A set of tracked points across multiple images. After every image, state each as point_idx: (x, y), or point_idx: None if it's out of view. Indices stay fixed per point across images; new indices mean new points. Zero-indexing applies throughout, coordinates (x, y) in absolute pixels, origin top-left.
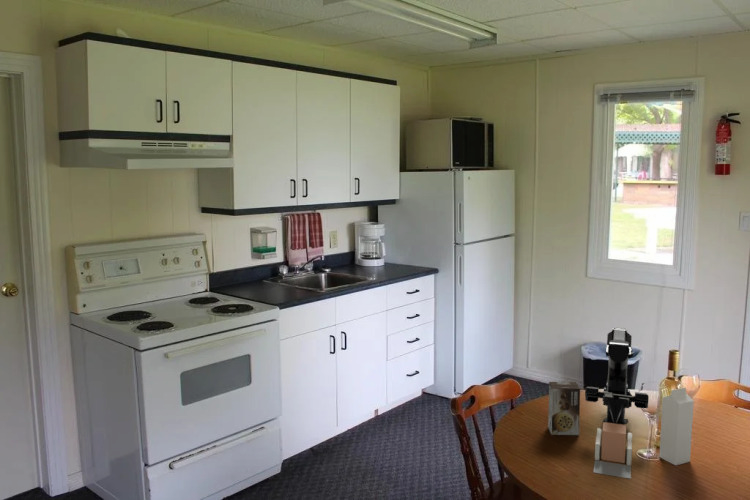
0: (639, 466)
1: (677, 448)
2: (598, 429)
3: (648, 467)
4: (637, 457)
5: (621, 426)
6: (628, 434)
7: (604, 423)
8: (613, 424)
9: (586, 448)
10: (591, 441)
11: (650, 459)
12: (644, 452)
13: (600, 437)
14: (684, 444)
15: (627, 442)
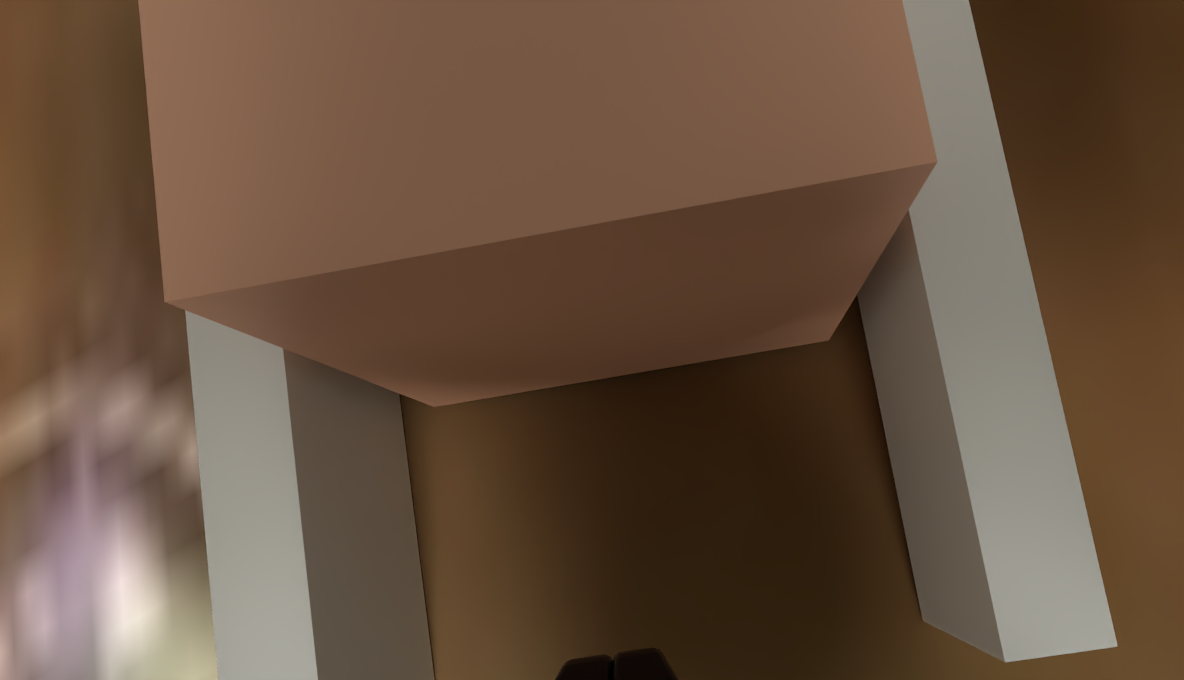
0: None
1: None
2: (1068, 571)
3: (44, 95)
4: None
5: (291, 92)
6: (296, 636)
7: (867, 39)
8: (562, 119)
9: (1113, 266)
10: (1126, 650)
11: (29, 405)
12: (135, 646)
13: None
14: None
15: (333, 426)
